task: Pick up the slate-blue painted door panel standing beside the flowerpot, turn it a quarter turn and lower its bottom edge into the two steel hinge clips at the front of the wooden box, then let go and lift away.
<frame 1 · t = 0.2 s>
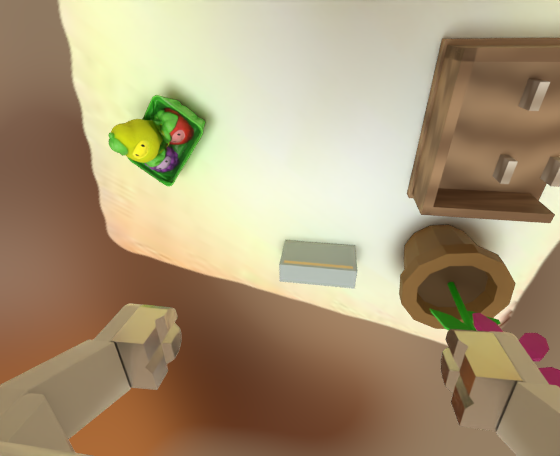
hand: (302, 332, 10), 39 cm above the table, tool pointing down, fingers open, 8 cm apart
flowerpot: (435, 249, 52), on the table
door: (319, 250, 56), on the table
wooden box: (482, 127, 41), on the table
fruit basket: (175, 131, 48), on the table
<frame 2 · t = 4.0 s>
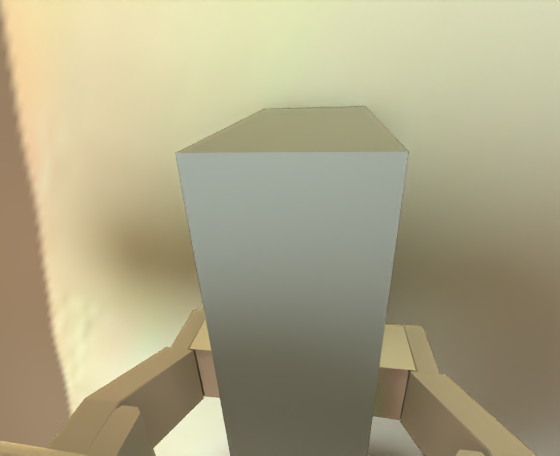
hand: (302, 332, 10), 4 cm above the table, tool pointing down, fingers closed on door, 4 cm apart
door: (312, 257, 14), on the table, touching gripper
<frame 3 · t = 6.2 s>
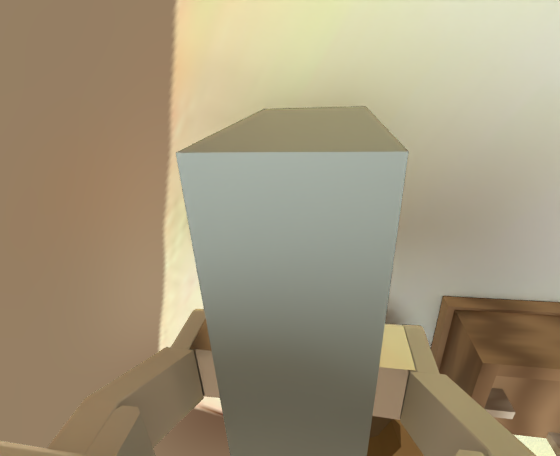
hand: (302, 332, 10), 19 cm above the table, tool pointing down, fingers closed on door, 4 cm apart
flowerpot: (334, 337, 35), on the table
door: (312, 256, 14), point 14 cm above the table, touching gripper
wooden box: (534, 361, 32), on the table
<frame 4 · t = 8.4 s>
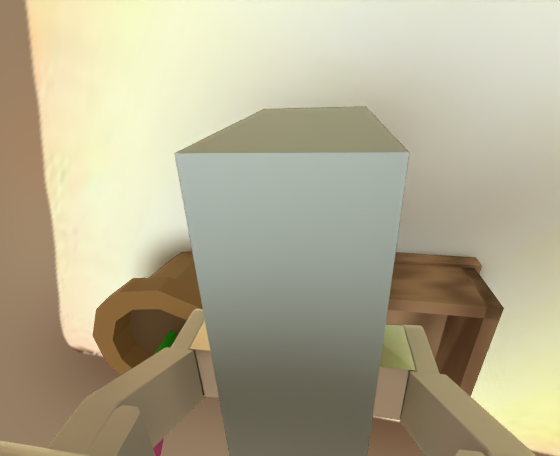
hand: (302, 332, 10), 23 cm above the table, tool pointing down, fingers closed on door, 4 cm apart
flowerpot: (202, 285, 39), on the table
door: (312, 257, 13), point 19 cm above the table, touching gripper
wooden box: (366, 307, 37), on the table
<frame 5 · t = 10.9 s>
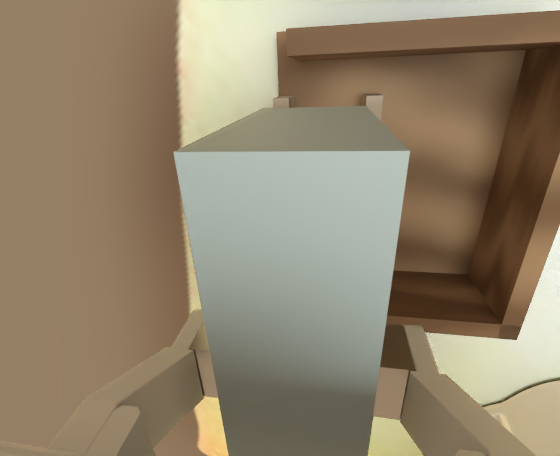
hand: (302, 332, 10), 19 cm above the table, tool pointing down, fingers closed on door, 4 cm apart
door: (312, 257, 13), point 14 cm above the table, touching gripper
wooden box: (402, 173, 25), on the table
when the fingers open (7 cm above the table, at t = 13.1 s): door stays where it is, resting on wooden box.
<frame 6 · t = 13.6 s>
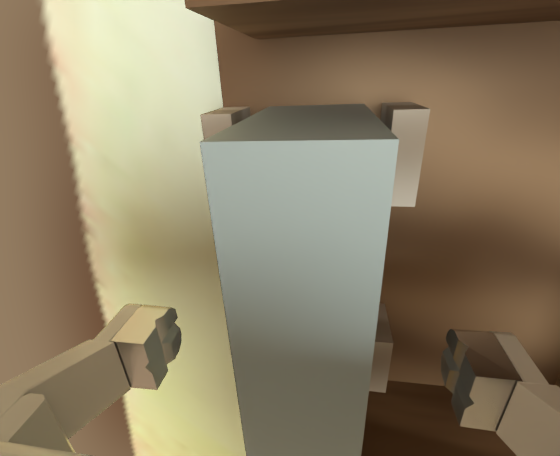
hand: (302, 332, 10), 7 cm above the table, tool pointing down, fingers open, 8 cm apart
door: (314, 246, 14), point 1 cm above the table, touching wooden box
wooden box: (443, 235, 15), on the table
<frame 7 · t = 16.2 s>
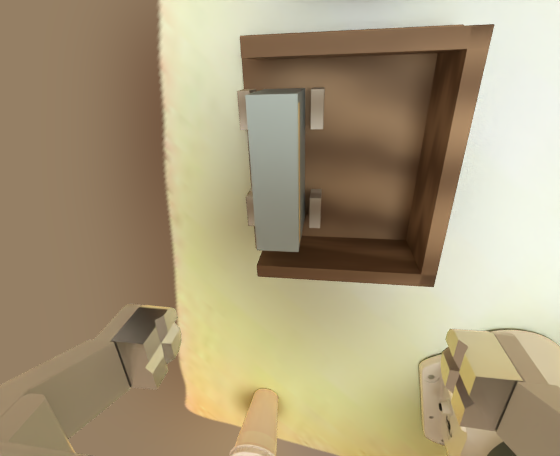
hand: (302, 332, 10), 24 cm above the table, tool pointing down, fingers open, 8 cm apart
door: (286, 158, 30), point 1 cm above the table, touching wooden box
wooden box: (349, 154, 30), on the table
smoothie: (266, 395, 48), on the table
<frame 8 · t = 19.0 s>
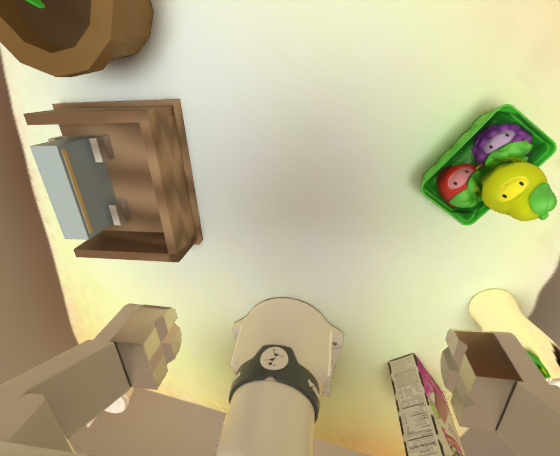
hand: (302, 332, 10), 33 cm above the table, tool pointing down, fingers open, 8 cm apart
flowerpot: (112, 8, 37), on the table
door: (99, 178, 45), point 1 cm above the table, touching wooden box
wooden box: (143, 176, 45), on the table
smoothie: (139, 355, 63), on the table
candy bar box: (416, 376, 54), on the table
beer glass: (490, 304, 46), on the table
fruit basket: (470, 161, 38), on the table
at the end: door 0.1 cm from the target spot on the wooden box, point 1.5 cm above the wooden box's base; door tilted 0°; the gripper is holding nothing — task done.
